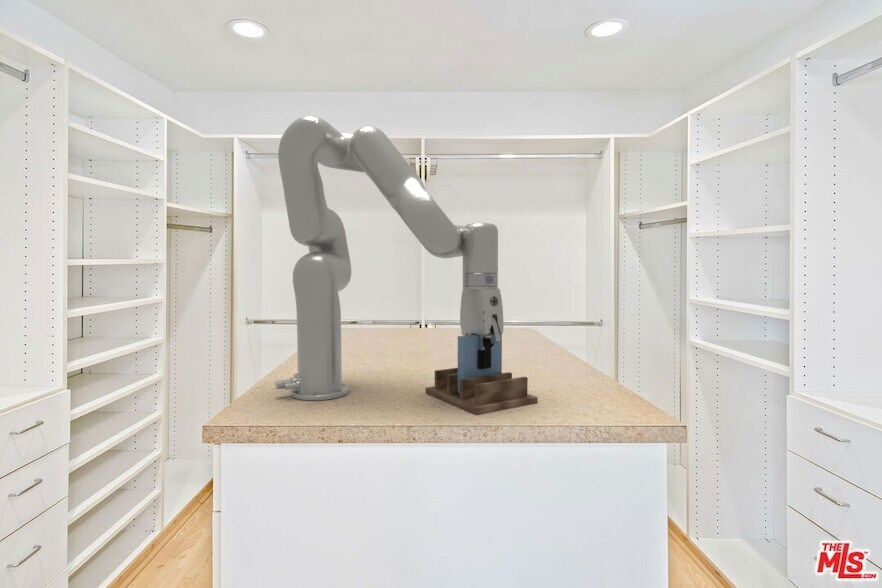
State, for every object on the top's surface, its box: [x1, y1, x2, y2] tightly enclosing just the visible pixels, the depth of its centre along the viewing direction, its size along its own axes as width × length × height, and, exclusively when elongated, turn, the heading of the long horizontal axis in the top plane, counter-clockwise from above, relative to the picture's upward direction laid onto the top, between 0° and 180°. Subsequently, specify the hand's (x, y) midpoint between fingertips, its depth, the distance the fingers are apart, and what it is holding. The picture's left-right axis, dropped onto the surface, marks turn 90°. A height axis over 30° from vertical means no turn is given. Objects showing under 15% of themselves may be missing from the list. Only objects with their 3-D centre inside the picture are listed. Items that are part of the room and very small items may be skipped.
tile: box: [457, 333, 503, 393], centre depth 106 cm, size 10×2×12 cm, turn 122°
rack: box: [424, 367, 539, 416], centre depth 106 cm, size 16×19×5 cm
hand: (480, 366), depth 106 cm, fingers closed on tile, 2 cm apart
